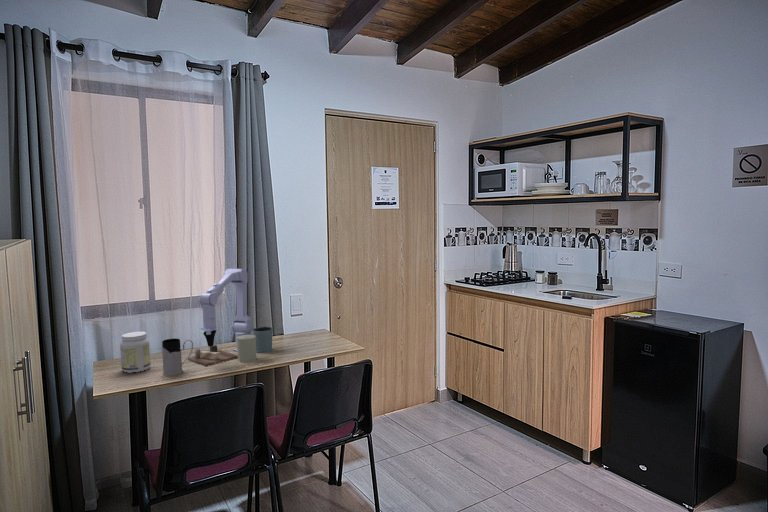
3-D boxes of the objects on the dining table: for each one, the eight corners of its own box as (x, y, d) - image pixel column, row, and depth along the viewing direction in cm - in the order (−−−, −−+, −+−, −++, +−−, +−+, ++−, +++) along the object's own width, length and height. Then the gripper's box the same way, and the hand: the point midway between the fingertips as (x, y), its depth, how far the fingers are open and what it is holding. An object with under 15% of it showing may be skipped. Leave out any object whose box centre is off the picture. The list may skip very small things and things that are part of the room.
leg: (200, 358, 243) (200, 352, 242) (203, 356, 244) (202, 351, 244) (216, 359, 239) (216, 353, 239) (219, 358, 241) (218, 352, 241)
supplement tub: (143, 363, 239) (141, 329, 238) (155, 368, 231) (153, 333, 230) (117, 370, 230) (114, 334, 228) (128, 375, 222) (126, 338, 220)
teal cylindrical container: (276, 348, 262) (275, 326, 261) (269, 354, 252) (268, 331, 251) (257, 348, 263) (256, 326, 262) (250, 353, 253) (249, 331, 252)
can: (237, 363, 237) (236, 338, 236) (237, 358, 246) (236, 334, 245) (257, 361, 240) (256, 337, 239) (256, 356, 248) (255, 333, 247)
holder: (159, 372, 225) (157, 340, 223) (190, 365, 235) (188, 335, 233) (166, 377, 218) (164, 344, 217) (198, 369, 228) (196, 338, 227)
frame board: (220, 351, 258) (220, 342, 257) (238, 357, 247) (238, 347, 246) (187, 360, 244) (187, 349, 244) (205, 366, 233) (205, 355, 233)
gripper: (201, 315, 239) (203, 342, 240) (198, 321, 225) (200, 350, 226) (217, 314, 240) (218, 341, 241) (214, 320, 226) (216, 349, 227)
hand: (210, 346), depth 234 cm, fingers closed
